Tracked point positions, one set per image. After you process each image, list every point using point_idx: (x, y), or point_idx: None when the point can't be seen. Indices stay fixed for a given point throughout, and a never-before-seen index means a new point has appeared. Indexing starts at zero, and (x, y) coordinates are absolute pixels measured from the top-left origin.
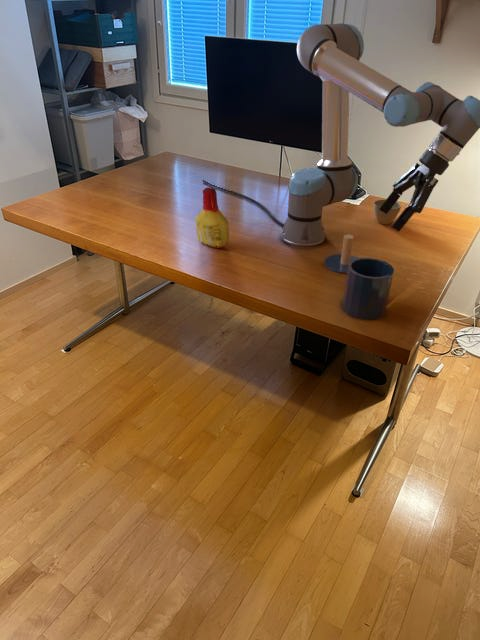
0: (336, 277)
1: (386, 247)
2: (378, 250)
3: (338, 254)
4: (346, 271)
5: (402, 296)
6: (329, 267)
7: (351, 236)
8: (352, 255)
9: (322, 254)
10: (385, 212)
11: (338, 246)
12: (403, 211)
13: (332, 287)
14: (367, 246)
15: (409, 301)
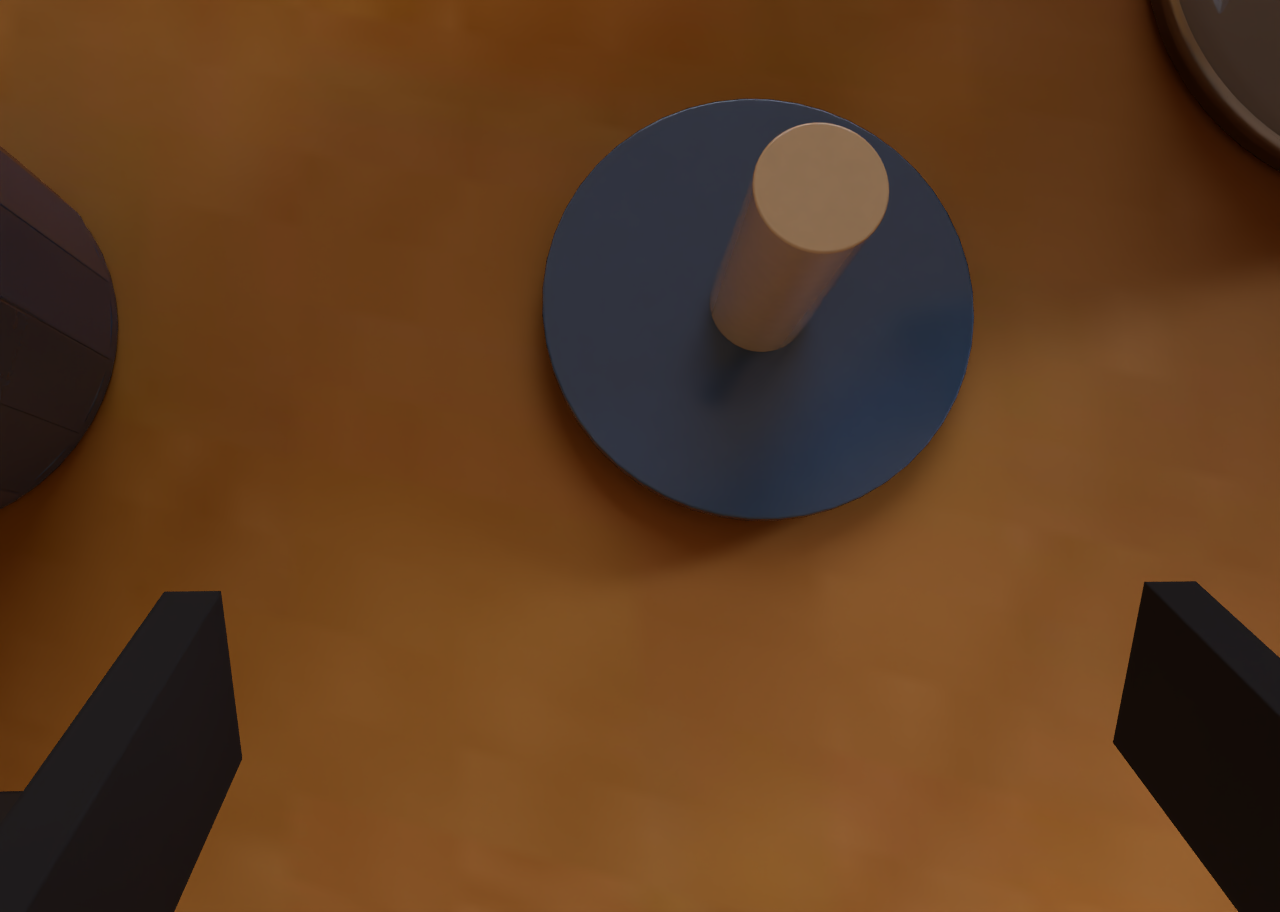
0: (512, 194)
1: None
2: None
3: (957, 269)
4: (564, 282)
5: None
6: (649, 127)
7: (825, 223)
8: (943, 417)
9: (1014, 136)
10: (1130, 717)
11: (1226, 334)
12: (18, 851)
13: (313, 124)
14: None
15: None
